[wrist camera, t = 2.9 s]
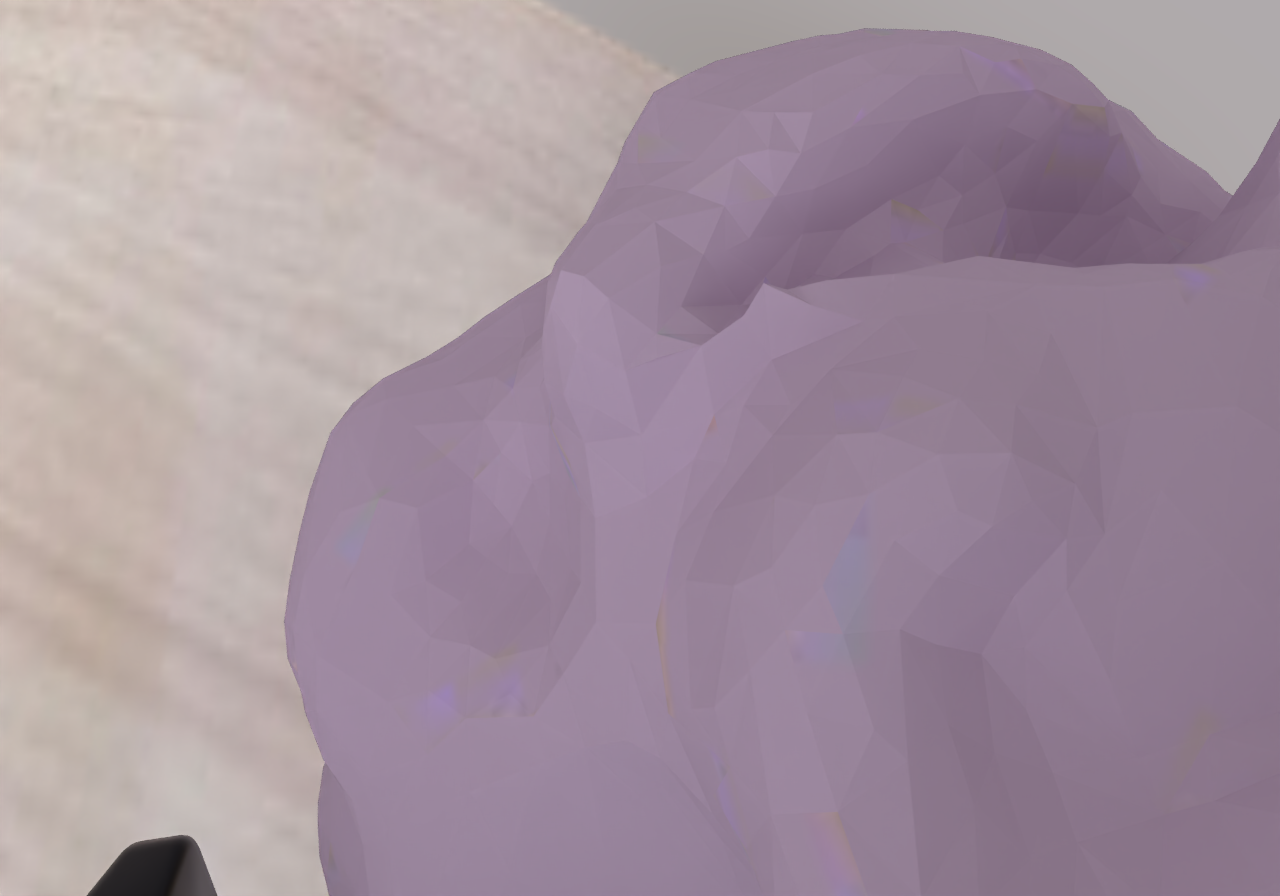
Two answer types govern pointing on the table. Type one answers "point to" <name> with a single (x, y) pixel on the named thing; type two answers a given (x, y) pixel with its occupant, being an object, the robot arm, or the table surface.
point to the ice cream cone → (826, 515)
